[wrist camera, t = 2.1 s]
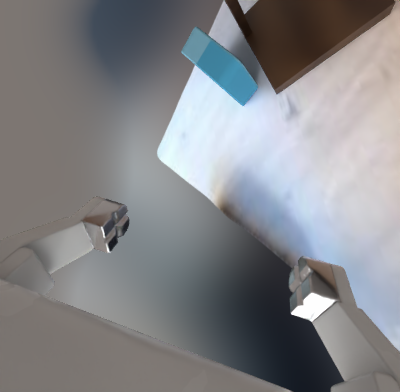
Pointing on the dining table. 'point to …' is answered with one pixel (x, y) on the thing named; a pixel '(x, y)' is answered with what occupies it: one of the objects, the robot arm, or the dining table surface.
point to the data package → (220, 65)
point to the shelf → (303, 32)
